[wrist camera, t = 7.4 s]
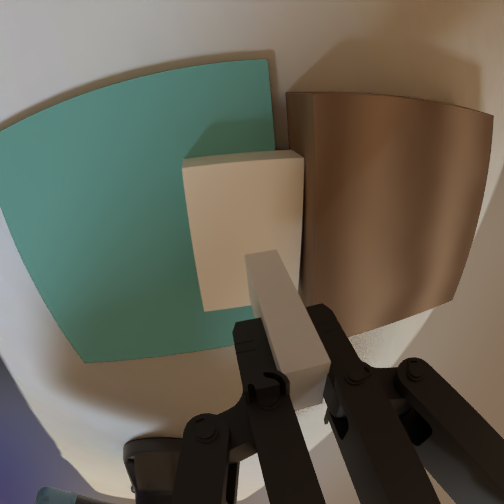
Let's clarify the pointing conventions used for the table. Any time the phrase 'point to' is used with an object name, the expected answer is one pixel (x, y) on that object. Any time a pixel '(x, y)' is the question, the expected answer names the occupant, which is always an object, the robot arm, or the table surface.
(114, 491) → the table surface
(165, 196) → the mat
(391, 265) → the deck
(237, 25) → the table surface
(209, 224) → the tile
